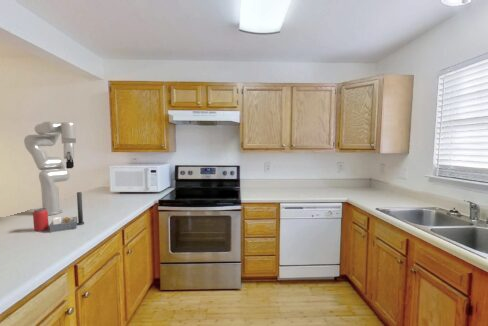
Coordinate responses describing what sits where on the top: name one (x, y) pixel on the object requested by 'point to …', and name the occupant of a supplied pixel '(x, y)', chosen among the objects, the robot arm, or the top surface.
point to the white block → (57, 220)
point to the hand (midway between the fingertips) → (70, 167)
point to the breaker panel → (64, 224)
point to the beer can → (40, 219)
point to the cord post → (80, 208)
